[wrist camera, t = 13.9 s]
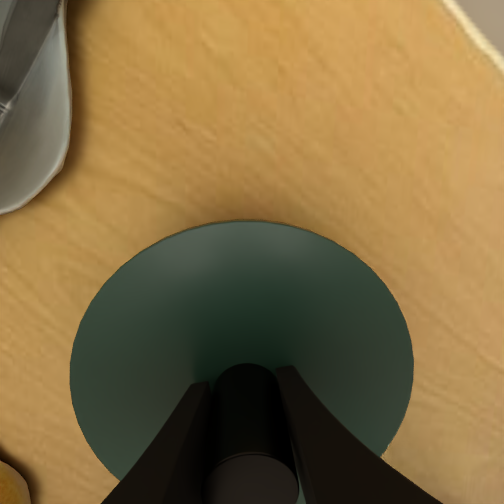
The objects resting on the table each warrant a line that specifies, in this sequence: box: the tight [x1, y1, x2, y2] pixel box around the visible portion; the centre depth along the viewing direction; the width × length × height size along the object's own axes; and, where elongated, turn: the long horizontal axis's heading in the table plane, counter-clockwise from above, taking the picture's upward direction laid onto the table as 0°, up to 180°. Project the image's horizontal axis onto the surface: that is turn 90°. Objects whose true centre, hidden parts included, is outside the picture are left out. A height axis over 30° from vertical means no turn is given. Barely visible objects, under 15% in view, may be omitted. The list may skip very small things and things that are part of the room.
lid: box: [70, 219, 414, 504], centre depth 9 cm, size 12×12×5 cm
